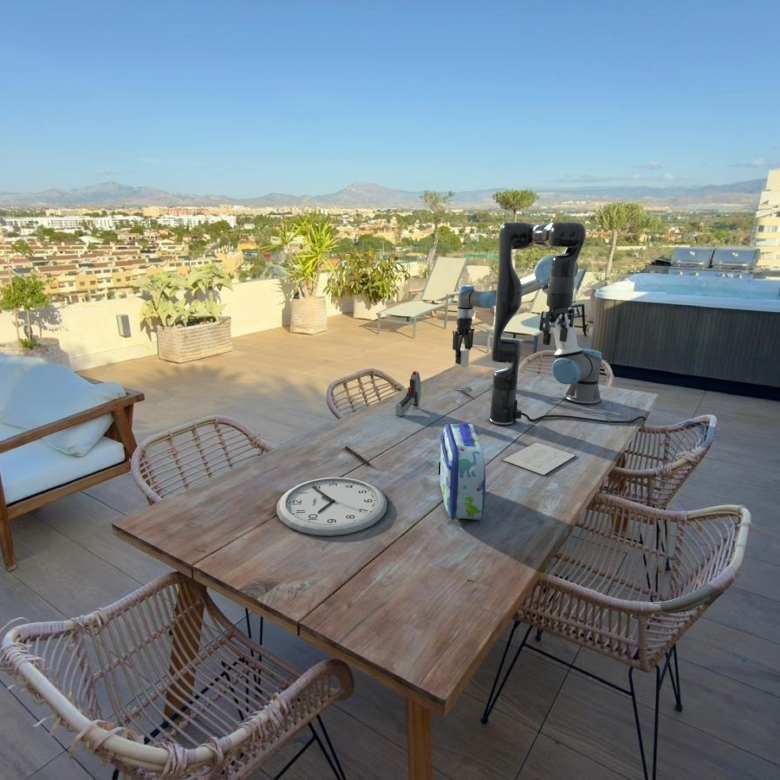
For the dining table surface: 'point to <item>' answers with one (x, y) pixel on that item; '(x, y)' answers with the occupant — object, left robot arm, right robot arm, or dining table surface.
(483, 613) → the dining table surface
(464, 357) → the block
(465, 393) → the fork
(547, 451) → the invitation card
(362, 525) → the wall clock
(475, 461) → the lunch box
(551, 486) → the dining table surface
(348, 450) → the dark brown rod
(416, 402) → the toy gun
